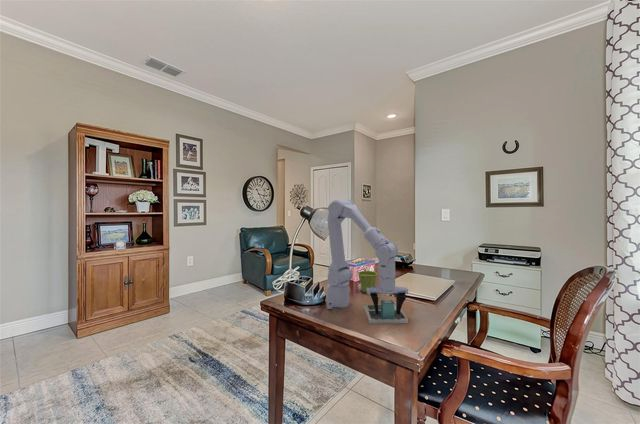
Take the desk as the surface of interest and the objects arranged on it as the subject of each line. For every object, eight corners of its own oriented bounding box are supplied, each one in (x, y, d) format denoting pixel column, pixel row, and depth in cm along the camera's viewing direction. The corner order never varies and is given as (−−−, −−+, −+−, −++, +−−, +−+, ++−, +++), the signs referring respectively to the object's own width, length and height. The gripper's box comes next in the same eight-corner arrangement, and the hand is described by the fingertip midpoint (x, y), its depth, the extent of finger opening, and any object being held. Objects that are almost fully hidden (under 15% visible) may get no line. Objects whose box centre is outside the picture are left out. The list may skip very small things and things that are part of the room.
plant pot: (353, 290, 128) (353, 272, 128) (367, 286, 133) (367, 269, 133) (367, 295, 120) (367, 277, 120) (381, 291, 125) (381, 273, 125)
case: (369, 325, 91) (369, 319, 91) (366, 314, 99) (365, 309, 99) (408, 325, 91) (408, 319, 91) (401, 314, 99) (401, 309, 99)
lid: (366, 315, 99) (366, 312, 99) (363, 306, 108) (363, 304, 108) (401, 314, 99) (401, 312, 99) (395, 306, 107) (395, 303, 107)
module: (383, 320, 93) (382, 303, 93) (380, 315, 97) (380, 298, 97) (394, 320, 93) (394, 302, 93) (391, 315, 97) (391, 298, 97)
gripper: (368, 279, 91) (369, 318, 91) (410, 279, 90) (411, 318, 91) (365, 274, 98) (366, 309, 98) (404, 273, 97) (405, 309, 98)
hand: (387, 313), depth 95 cm, fingers open, 7 cm apart
